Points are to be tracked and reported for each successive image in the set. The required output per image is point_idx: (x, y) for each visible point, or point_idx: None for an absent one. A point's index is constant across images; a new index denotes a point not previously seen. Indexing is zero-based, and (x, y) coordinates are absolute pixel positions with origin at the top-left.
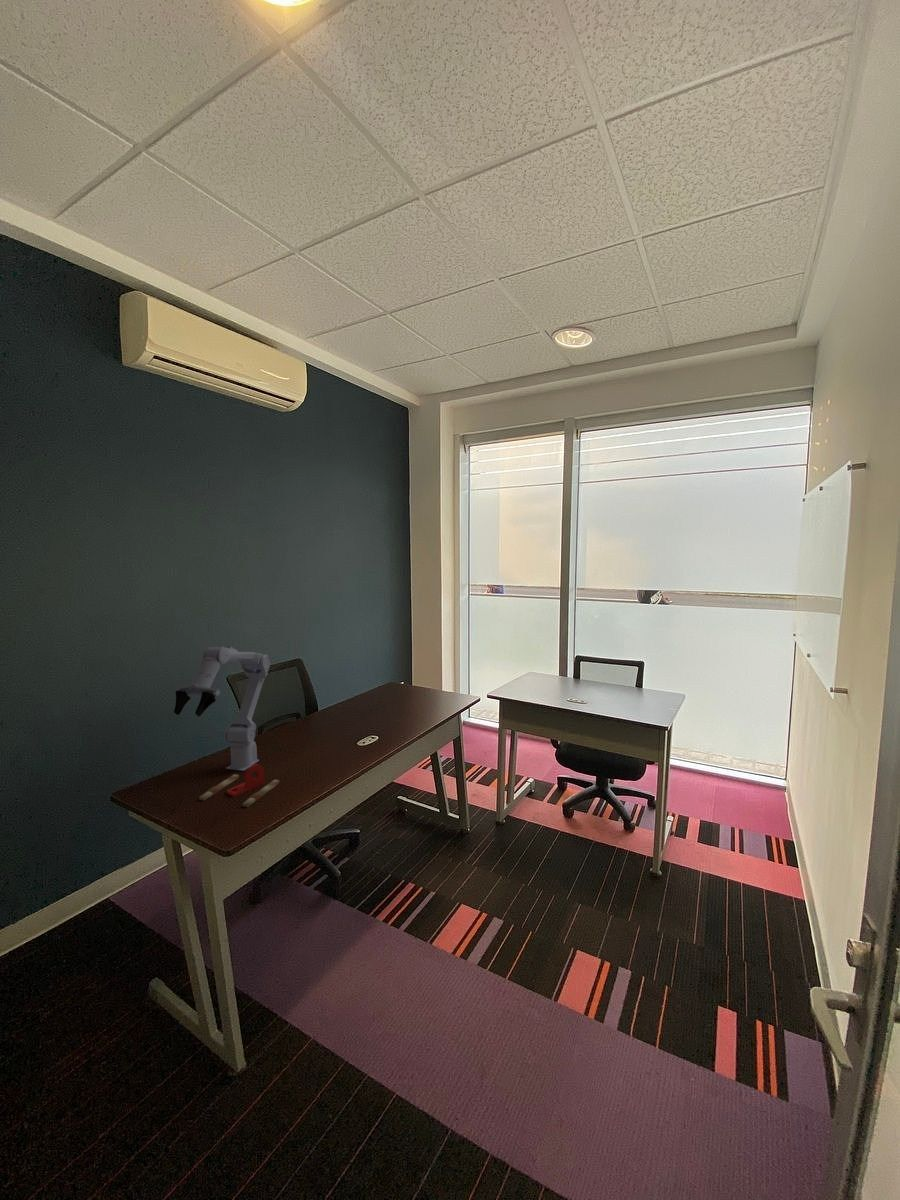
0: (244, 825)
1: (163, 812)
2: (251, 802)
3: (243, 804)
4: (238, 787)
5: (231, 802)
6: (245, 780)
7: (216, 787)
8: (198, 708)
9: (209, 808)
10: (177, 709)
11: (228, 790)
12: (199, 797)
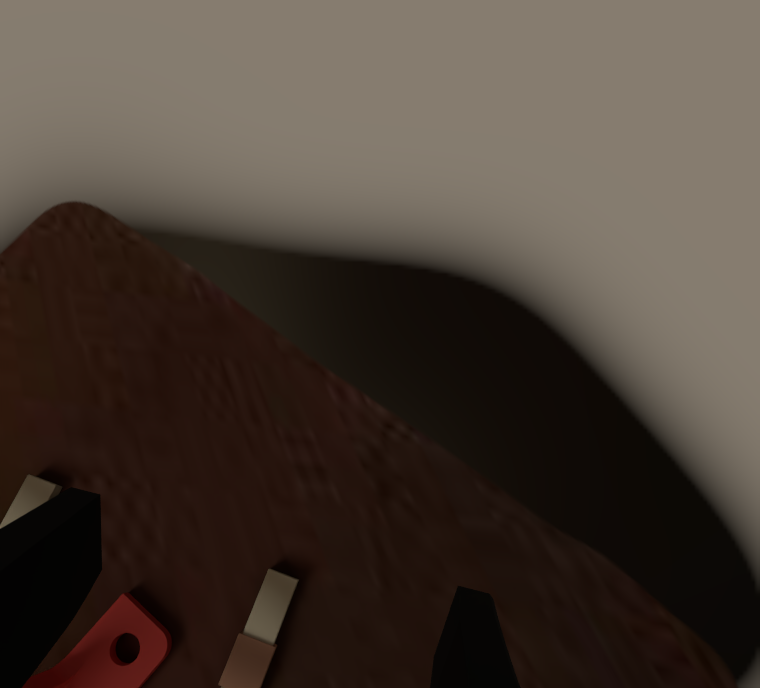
0: (28, 324)
1: (419, 470)
2: (16, 503)
3: (52, 484)
4: (110, 677)
5: (125, 533)
6: (47, 683)
7: (235, 683)
8: (10, 533)
9: (218, 484)
10: (451, 642)
11: (159, 642)
12: (295, 579)
